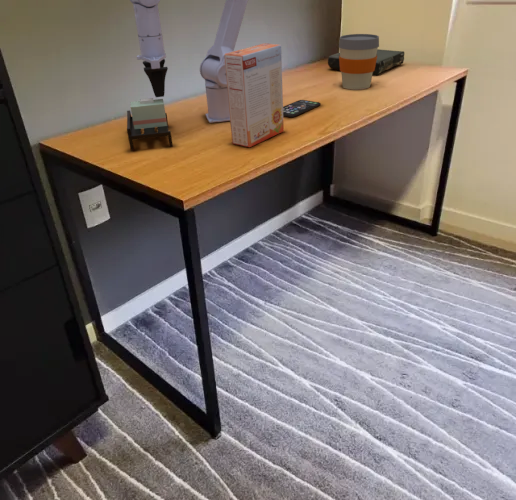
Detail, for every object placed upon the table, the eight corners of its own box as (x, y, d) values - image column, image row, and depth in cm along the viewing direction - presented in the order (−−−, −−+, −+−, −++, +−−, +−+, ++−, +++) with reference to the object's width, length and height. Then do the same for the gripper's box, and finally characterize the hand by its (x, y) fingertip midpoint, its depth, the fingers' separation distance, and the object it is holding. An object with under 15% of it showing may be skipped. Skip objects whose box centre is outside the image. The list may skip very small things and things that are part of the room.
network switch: (384, 76, 170) (386, 61, 167) (323, 71, 181) (324, 57, 178) (405, 63, 187) (407, 49, 184) (348, 59, 198) (349, 46, 195)
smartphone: (321, 102, 143) (292, 115, 133) (321, 105, 143) (292, 117, 134) (300, 99, 147) (270, 111, 137) (300, 101, 147) (270, 114, 138)
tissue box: (166, 120, 125) (162, 95, 122) (167, 126, 121) (163, 100, 118) (134, 123, 124) (129, 98, 121) (134, 129, 120) (129, 104, 117)
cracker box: (266, 128, 127) (262, 42, 116) (284, 132, 124) (283, 44, 113) (230, 143, 118) (223, 52, 107) (249, 148, 115) (243, 54, 104)
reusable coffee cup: (329, 86, 162) (330, 37, 154) (355, 79, 168) (358, 32, 160) (356, 93, 153) (360, 41, 145) (383, 85, 159) (388, 36, 151)
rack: (168, 126, 132) (165, 106, 129) (172, 146, 118) (169, 124, 115) (130, 131, 130) (126, 110, 128) (131, 151, 117) (126, 129, 114)
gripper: (132, 32, 122) (142, 87, 130) (133, 41, 110) (144, 101, 117) (161, 30, 124) (168, 85, 131) (165, 38, 111) (173, 98, 119)
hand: (158, 92), depth 124 cm, fingers open, 7 cm apart
